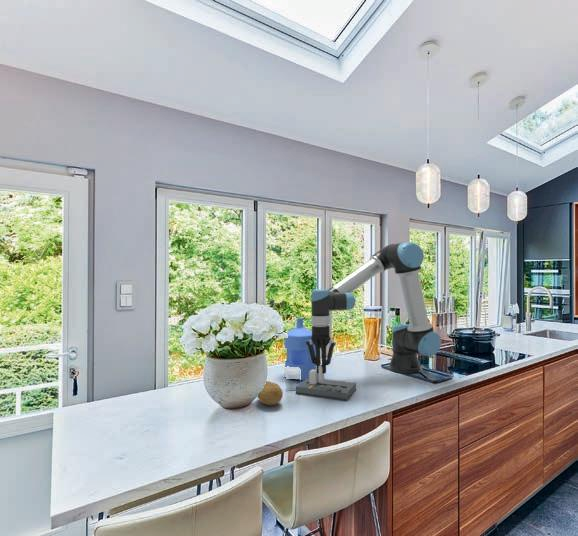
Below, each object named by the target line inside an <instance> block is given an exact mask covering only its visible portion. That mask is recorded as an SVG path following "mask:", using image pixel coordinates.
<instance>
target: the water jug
mask: <svg viewBox="0 0 578 536" xmlns="http://www.w3.org/2000/svg"><path fill="white" fill-rule="evenodd" d="M303 320H304V318H303V317H301V318H296V327H294V328H292V329H290V330H288V331H286V332H285V333H287V334H288V338H285V339H284V338H283V343H284V348H285V350H286V360H285V361H284V368H285V367H287V366H289V367H299V368H300V369H301V380H300V381H304V380H305V379H307V378H308V377H309V372H310V371H311V370H312V369H313V370H317V366H316V365H315V364H313V363H312V360H311V356H310V351H309V347H308V345H307V344H306V342H307V341H309V340H310V339H311V337H312V330H310V329H308V328H306V327H304V322H303ZM313 348H314V352H315V356H316V349H315V345H314V343H313Z"/></svg>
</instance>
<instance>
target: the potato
mask: <svg viewBox="0 0 578 536" xmlns="http://www.w3.org/2000/svg"><path fill="white" fill-rule="evenodd" d="M283 393H284V392H283V390H282V387H281V386H280V385H279V384H278V383H276V382H272V381H267V380H266V384H265V385H264V388H263V389H262V391H261V392H260V393H259V394H258V396H257V395H256V396H257V399H258V400H260V402H261V403H262V404H264V405H268V406H274V405H277V404H278V403H280V401H282V399H283V395H284V394H283Z"/></svg>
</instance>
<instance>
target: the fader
mask: <svg viewBox="0 0 578 536" xmlns="http://www.w3.org/2000/svg"><path fill="white" fill-rule="evenodd" d="M318 382H319V373H317V369H316V370H313V369H312V370H311V371H310V372H309V384H317V383H318Z"/></svg>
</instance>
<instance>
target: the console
mask: <svg viewBox="0 0 578 536" xmlns="http://www.w3.org/2000/svg"><path fill="white" fill-rule="evenodd" d="M356 390H357V383H356V382H350V381H343V380H342V381H341V380H333V379H325V378H324V381H323V382H318V383H317V384H309V377H308V378H307V379H305V380H302V381H301V382H299V384H297V385H296V386H295V395H301V394H302V395H303V396H308V397H316V398H323V399H329V400H330V399H331V400H337V401H344V402H347V401H349V399H350V398H351V397H352V395H354V393H355V392H356ZM302 395H301V396H302Z"/></svg>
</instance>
